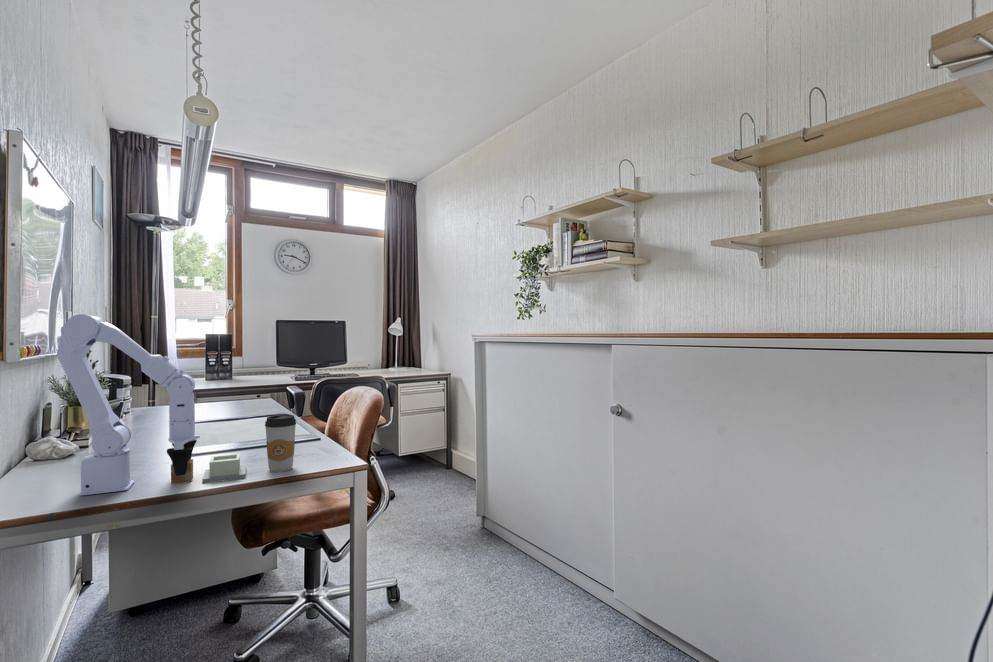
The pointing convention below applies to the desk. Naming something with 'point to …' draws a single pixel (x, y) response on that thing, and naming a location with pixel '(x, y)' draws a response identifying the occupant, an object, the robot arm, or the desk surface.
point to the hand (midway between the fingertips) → (182, 471)
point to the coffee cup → (280, 442)
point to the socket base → (225, 477)
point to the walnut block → (182, 478)
